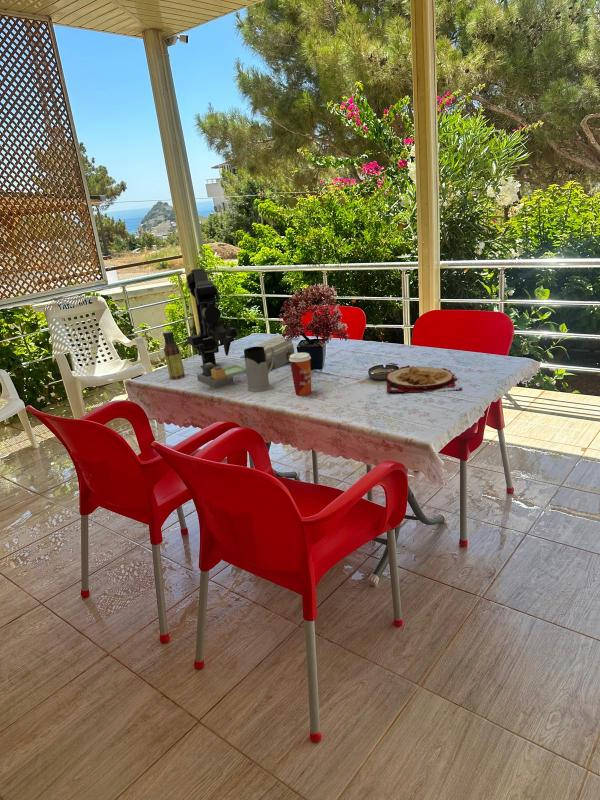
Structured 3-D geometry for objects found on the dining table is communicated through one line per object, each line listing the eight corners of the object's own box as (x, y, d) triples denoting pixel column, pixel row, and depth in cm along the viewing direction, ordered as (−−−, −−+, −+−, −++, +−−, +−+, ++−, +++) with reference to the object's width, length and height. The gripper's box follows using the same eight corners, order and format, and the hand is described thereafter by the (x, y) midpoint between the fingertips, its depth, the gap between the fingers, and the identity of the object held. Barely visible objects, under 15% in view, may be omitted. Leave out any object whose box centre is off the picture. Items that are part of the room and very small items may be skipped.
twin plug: (204, 380, 222) (201, 363, 220) (213, 377, 224) (210, 361, 222) (208, 382, 219) (206, 365, 216) (217, 379, 221) (215, 363, 218)
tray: (214, 373, 231) (213, 369, 230) (237, 367, 237) (236, 363, 236) (226, 378, 222) (225, 374, 222) (250, 372, 228) (249, 368, 227)
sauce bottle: (188, 376, 231) (179, 329, 225) (179, 381, 226) (170, 333, 220) (175, 375, 234) (167, 329, 228) (166, 380, 229) (157, 333, 222)
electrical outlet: (305, 356, 240) (302, 334, 236) (259, 379, 221) (255, 356, 218) (286, 353, 248) (282, 332, 244) (240, 375, 229) (235, 353, 225)
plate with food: (387, 396, 186) (386, 386, 185) (385, 371, 211) (385, 362, 210) (462, 394, 183) (462, 383, 181) (452, 368, 207) (452, 359, 206)
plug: (213, 384, 216) (210, 367, 213) (222, 381, 218) (219, 364, 215) (217, 386, 213) (215, 369, 210) (226, 383, 215) (224, 366, 212)
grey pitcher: (242, 389, 207) (237, 351, 202) (268, 378, 216) (264, 341, 211) (259, 393, 201) (253, 353, 196) (285, 381, 211) (280, 343, 206)
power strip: (198, 381, 223) (196, 374, 222) (215, 376, 227) (214, 369, 226) (215, 389, 210) (214, 382, 209) (234, 384, 214) (233, 377, 213)
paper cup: (307, 397, 191) (303, 358, 186) (288, 395, 195) (284, 357, 190) (318, 390, 197) (314, 352, 193) (300, 388, 201) (296, 351, 197)
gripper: (195, 325, 195) (202, 367, 200) (242, 315, 204) (247, 355, 210) (183, 321, 204) (190, 362, 209) (228, 312, 213) (233, 351, 218)
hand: (216, 358), depth 211 cm, fingers open, 9 cm apart
